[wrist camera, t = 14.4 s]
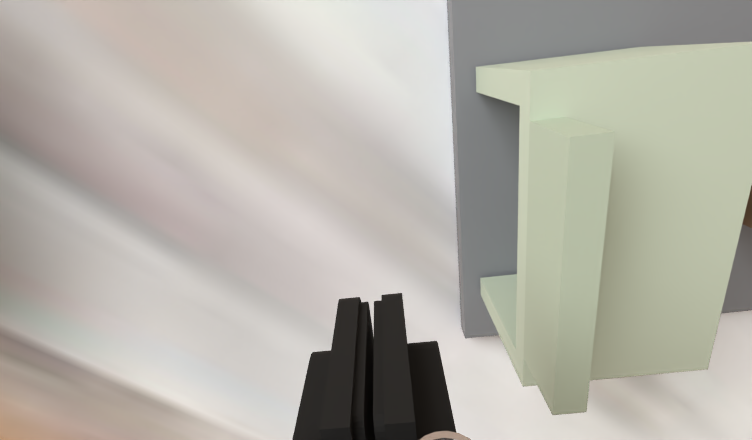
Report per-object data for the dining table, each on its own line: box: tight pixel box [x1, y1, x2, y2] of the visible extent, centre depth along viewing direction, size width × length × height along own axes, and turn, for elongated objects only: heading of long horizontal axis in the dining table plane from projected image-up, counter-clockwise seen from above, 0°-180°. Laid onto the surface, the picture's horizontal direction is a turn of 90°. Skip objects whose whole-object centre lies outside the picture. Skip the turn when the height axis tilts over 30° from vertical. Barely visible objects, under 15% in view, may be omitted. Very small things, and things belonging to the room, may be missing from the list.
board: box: [447, 0, 752, 338], centre depth 21 cm, size 20×24×5 cm
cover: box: [476, 42, 752, 415], centre depth 17 cm, size 13×8×10 cm, turn 7°
